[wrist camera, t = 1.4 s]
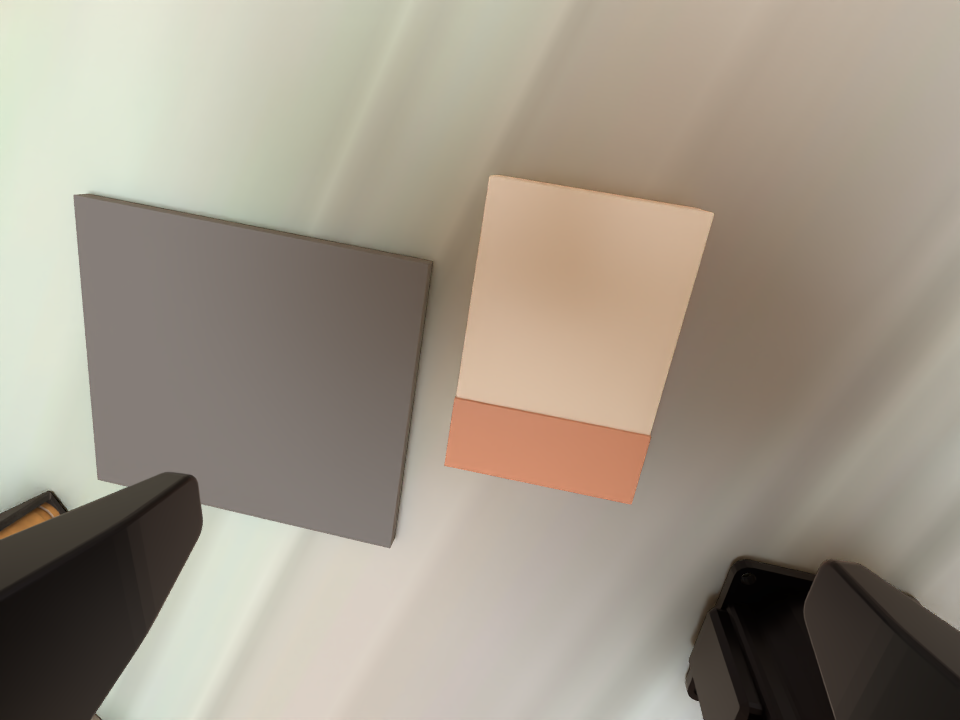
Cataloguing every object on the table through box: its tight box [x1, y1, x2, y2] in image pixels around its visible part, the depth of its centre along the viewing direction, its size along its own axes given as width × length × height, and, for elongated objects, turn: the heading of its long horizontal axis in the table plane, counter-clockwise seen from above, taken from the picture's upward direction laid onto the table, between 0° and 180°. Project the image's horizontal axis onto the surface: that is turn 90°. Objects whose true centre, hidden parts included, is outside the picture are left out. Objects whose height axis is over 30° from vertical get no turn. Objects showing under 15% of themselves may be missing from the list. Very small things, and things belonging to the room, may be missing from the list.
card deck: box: [444, 175, 714, 504], centre depth 17 cm, size 6×9×2 cm, turn 171°
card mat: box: [74, 194, 433, 548], centre depth 20 cm, size 12×11×1 cm
